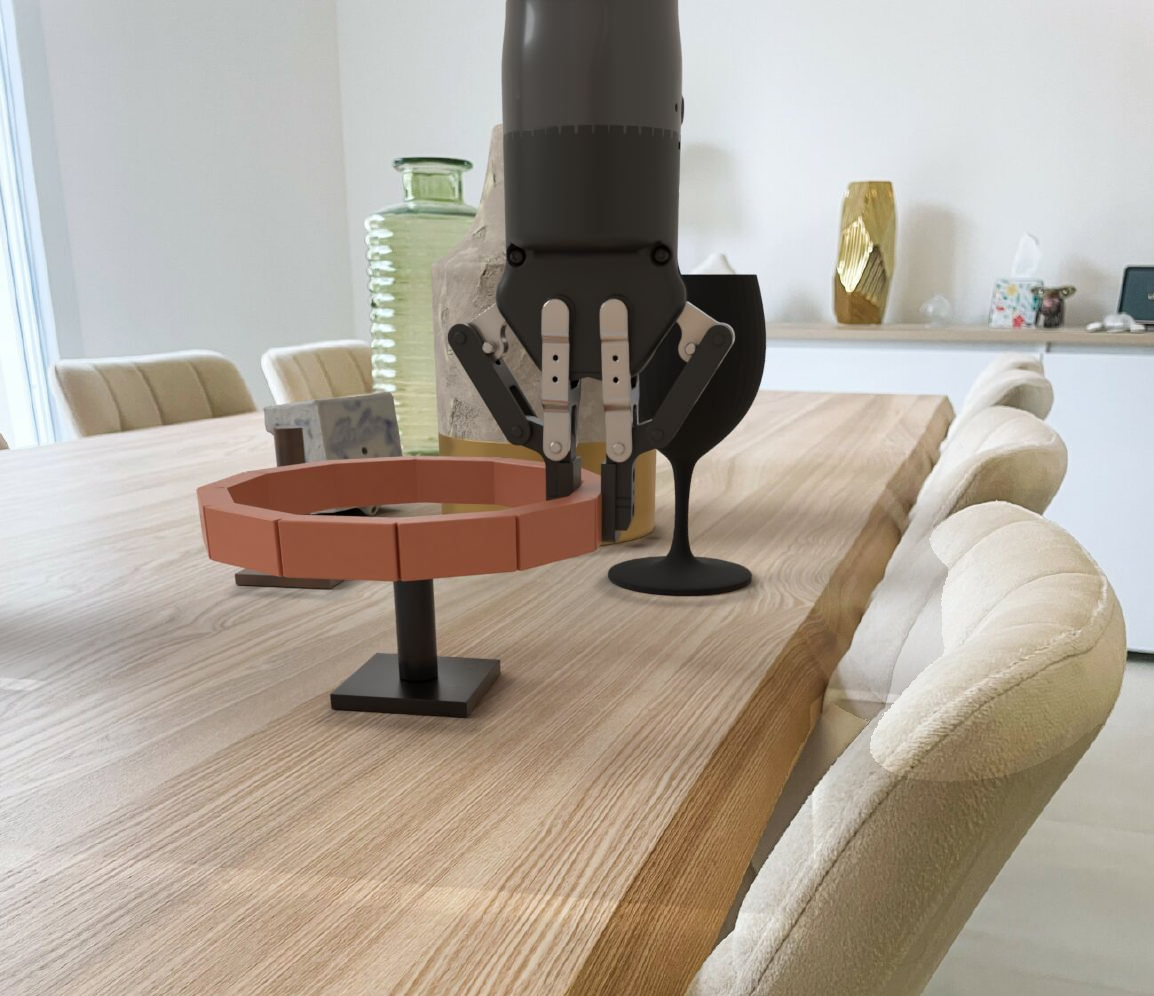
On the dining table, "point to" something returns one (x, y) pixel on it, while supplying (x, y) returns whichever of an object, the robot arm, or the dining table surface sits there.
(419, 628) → the metal post
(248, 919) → the dining table surface
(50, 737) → the dining table surface
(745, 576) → the wine glass
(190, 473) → the dining table surface
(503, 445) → the vase
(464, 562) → the ring
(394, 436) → the incense holder
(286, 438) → the walnut post
